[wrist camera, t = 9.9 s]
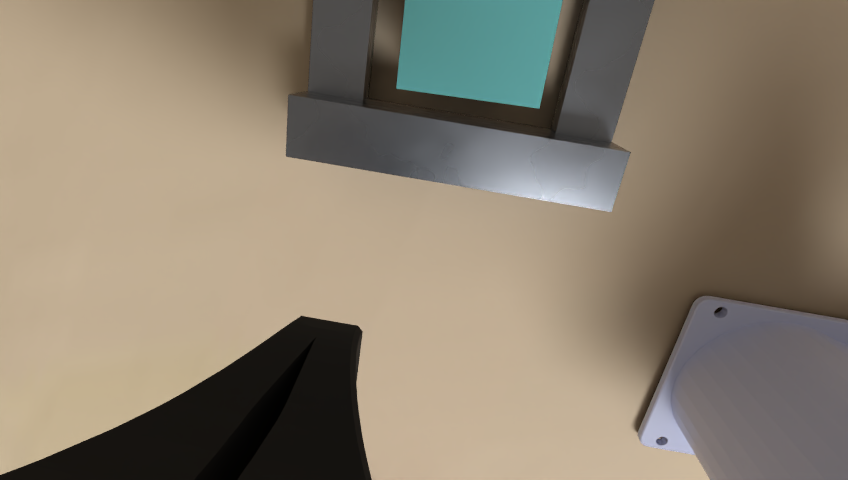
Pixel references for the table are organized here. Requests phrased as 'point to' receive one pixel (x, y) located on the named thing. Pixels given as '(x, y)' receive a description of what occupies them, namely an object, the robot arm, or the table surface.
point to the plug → (478, 48)
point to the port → (464, 134)
